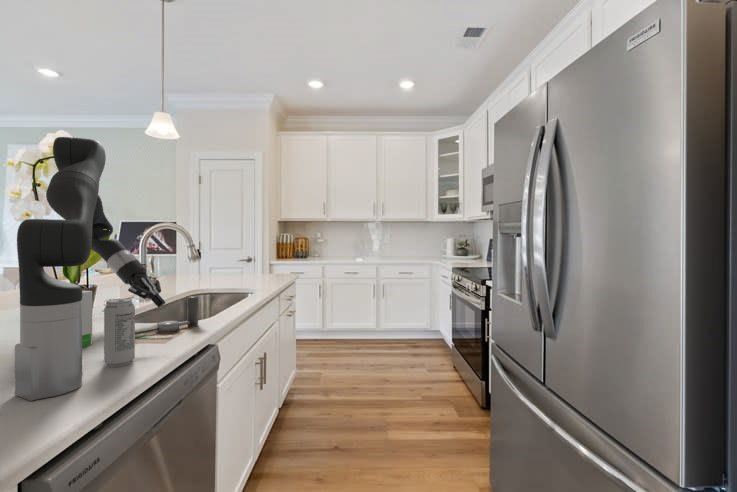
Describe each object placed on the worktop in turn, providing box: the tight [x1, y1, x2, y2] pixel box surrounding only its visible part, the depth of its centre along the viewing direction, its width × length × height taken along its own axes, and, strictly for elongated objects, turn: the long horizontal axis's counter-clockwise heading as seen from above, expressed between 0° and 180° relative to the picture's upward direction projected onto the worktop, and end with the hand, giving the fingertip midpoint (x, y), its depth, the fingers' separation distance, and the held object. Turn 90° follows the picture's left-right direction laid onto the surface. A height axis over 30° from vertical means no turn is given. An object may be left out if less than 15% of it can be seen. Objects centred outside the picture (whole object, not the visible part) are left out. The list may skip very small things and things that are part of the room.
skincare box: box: [82, 290, 93, 348], centre depth 95 cm, size 8×7×16 cm
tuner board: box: [135, 324, 198, 344], centre depth 111 cm, size 22×13×1 cm, turn 2°
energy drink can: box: [103, 298, 136, 368], centre depth 87 cm, size 6×6×15 cm
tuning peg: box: [135, 295, 199, 334], centre depth 113 cm, size 19×6×9 cm, turn 148°
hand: (162, 305), depth 121 cm, fingers closed
